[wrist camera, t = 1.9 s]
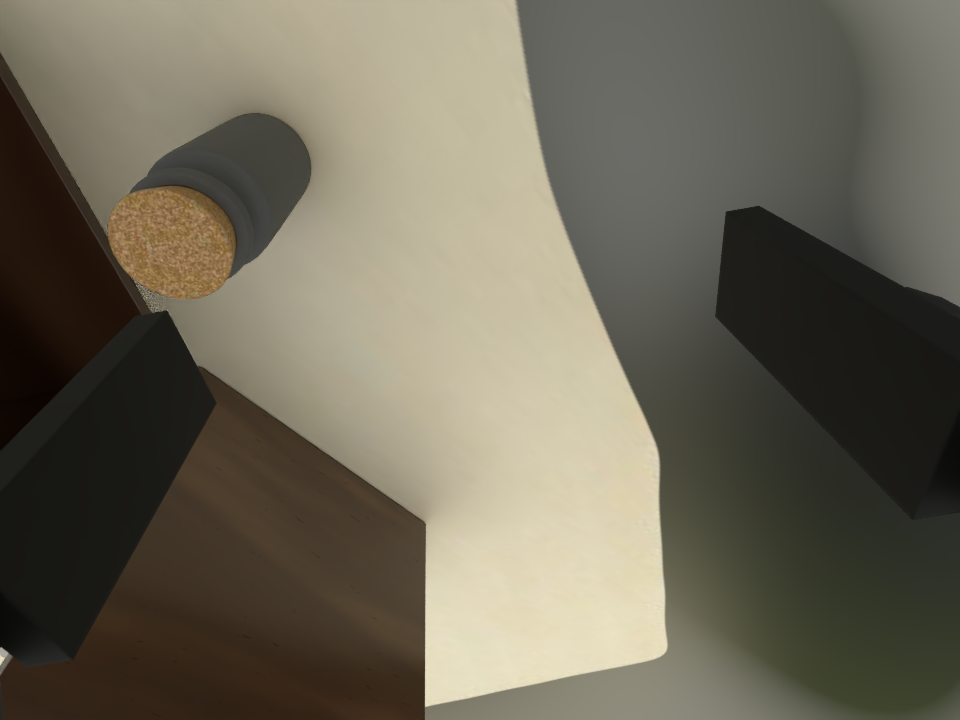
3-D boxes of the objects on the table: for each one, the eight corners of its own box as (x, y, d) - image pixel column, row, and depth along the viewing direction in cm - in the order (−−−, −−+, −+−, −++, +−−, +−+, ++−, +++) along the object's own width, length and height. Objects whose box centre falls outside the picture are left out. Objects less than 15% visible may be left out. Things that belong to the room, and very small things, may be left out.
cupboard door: (376, 555, 56) (344, 893, 34) (148, 414, 44) (-122, 799, 22) (425, 523, 54) (424, 862, 32) (200, 366, 42) (-42, 739, 20)
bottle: (311, 213, 36) (249, 319, 24) (219, 199, 35) (104, 302, 23) (313, 121, 33) (242, 187, 21) (212, 103, 32) (75, 161, 20)
